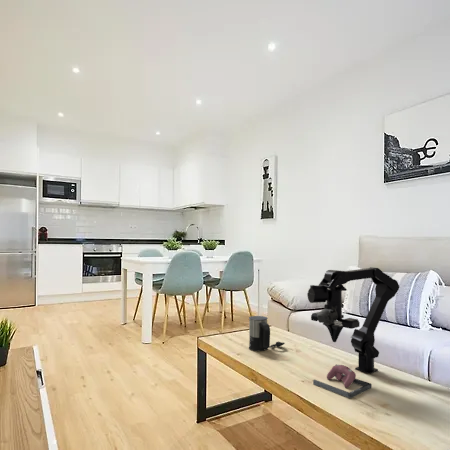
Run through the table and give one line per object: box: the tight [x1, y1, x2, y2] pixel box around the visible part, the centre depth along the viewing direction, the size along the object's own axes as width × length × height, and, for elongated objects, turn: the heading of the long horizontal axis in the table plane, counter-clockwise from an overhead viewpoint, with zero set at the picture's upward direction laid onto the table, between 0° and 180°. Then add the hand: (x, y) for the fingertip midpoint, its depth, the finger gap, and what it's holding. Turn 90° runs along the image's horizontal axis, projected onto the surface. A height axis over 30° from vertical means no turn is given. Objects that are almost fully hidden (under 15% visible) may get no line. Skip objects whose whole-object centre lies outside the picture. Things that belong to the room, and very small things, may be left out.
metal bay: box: [312, 374, 373, 399], centre depth 124 cm, size 14×15×2 cm
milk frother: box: [248, 315, 286, 352], centre depth 168 cm, size 14×16×15 cm
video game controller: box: [326, 363, 357, 389], centre depth 128 cm, size 10×5×7 cm, turn 29°
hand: (334, 341), depth 137 cm, fingers closed
